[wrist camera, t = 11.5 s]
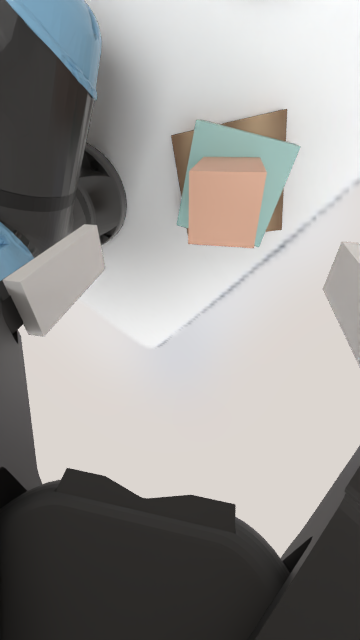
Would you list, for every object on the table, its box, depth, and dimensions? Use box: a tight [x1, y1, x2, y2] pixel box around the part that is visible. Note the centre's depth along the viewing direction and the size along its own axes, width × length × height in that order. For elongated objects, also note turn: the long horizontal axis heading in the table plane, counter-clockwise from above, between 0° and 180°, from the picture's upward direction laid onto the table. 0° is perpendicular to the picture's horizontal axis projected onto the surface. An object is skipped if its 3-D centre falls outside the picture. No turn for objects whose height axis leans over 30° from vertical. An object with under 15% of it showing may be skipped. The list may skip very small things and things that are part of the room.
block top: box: [177, 120, 300, 247], centre depth 31 cm, size 11×11×4 cm
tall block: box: [188, 157, 267, 248], centre depth 26 cm, size 6×6×10 cm
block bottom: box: [171, 109, 287, 233], centre depth 35 cm, size 13×13×4 cm
